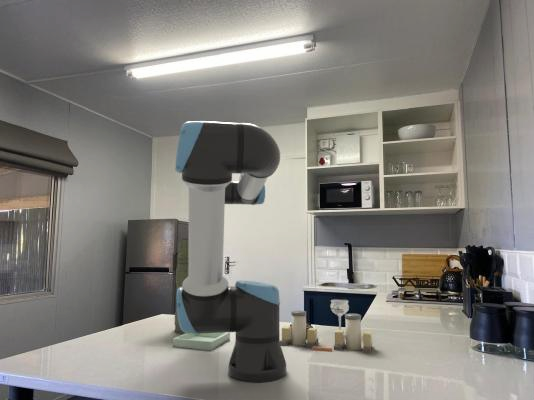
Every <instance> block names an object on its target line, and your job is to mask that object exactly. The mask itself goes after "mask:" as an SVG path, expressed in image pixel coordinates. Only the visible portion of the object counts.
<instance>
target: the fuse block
mask: <svg viewBox="0 0 534 400" xmlns="http://www.w3.org/2000/svg"><path fill="white" fill-rule="evenodd" d="M334 333H335V335H334V345H333V347H326V346H325V347H324V346H317V344H318V343H319V338H318V328H317V327H308V329H306V345H305V348H308V349H309V348H310V349H312V350H314V351H315V350H317V351H326V352H332V351H333V350H334V351H343V349H344V346H346V339H345V335H344V333H345V330H344V329H341V330H340V329H336V330H335V331H334ZM362 338H363V341H362V342H363V347H362V353H366V354H371V352H372V349H373V342H372V341H373V339H372V331H364V332H363V335H362ZM290 343H292V325H284V326H283V327H281V339H280V345H281V346H287V345H288V344H290Z"/></svg>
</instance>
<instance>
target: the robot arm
mask: <svg viewBox="0 0 534 400" xmlns="http://www.w3.org/2000/svg"><path fill="white" fill-rule="evenodd" d="M280 161H281V152H280V148H279V145H278V144H277V142H276V140H275V139H274V137H272V135H271V134H270V133H269V132H268V131H266V130H265V129H264V128H262V127H260V126H257V125H256V124H252V123H247V122H246V123H245V122H240V123H239V122H223V121H206V120H200V121H198V120H197V121H196V120H195V121H186V122H183V124H182V125H181V127H180V131H179V136H178V142H177V150H176V157H175V168H174V169H175V170H174V171H176V173H179V174H181V180H182V182H183V183H184V184H185V185H186V186H187V188H188V239H189V264H188V277H187V278H186V279H185V280H184V281H183V283H182V287H180V288H178V289H177V288H176V298H175V299H176V300H175V301H176V304H177V315H178V321H179V326H180V328H181V330H182V331H183V332H184V333H183V334H185V333H196V334H200V333H222V332H230V333H235V340H234V341H235V342H234V346H233V349H232V353H231V356H230V358H229V361H228V375H229V376H230V377H231V378H233V379H236V380H239V381H243V382H251V383H260V382H261V383H263V382H271V381H276V380H279V379H281V378H283V377H284V376H285V375H287V361H286V359H285V355H284V352H283V349H282V345H280V341H281V339H280V333H281V332H280V305H281V301H280V300H281V299H280V290H279V289H278V287H277V286H275V285H273V284H270V283H266V282H261V281H255V280H254V281H252V280H237V281H236V282H235V286H233V285H232V286H231V285H230V286H229V281H228V279H227V278H226V277H225V276H224V275H223V269H224V268H223V267H224V241H225V240H224V239H225V238H224V237H225V236H224V235H225V207H226V206H225V205H251V206H255V205H263V204H264V203H265V199H266V185H265V184H266V182H267V179H268V178H269V177H271V176H272V175H273V174H275V172H276V171H277V169H278V168H279V165H280ZM233 174H238V175H239V179H238V181H234V180H233Z"/></svg>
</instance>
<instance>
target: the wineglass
mask: <svg viewBox="0 0 534 400" xmlns="http://www.w3.org/2000/svg"><path fill="white" fill-rule="evenodd" d="M330 302H331V303H330V310H331V311H332V313H334V314H335V315H336V316H337V317H338V327H339V329H338V330H342V328H341V326H342V316H343V315H345V314H347V312H348V311H349V310H350V309H349V308H350V306H349V300H348V299H331V300H330ZM333 335H334V336H335V332H334V333H333ZM344 336H346V332H344Z"/></svg>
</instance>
